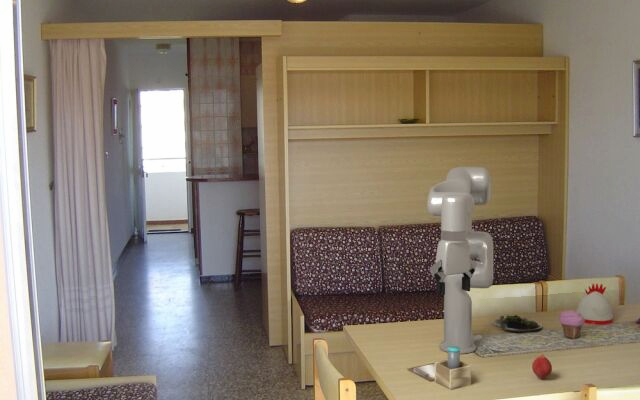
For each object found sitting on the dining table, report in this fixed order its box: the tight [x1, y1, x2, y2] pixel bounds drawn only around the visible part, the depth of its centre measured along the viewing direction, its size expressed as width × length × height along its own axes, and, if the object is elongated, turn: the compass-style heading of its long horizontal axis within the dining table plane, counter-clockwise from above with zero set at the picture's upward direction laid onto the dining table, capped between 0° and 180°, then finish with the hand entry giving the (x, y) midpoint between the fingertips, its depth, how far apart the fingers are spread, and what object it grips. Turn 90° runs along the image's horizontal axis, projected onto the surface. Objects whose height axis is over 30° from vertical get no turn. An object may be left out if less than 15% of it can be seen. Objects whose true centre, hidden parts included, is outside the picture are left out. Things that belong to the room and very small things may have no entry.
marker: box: [447, 346, 461, 369], centre depth 202 cm, size 4×4×10 cm
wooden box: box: [434, 359, 472, 391], centre depth 203 cm, size 8×8×6 cm
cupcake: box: [558, 310, 585, 339], centre depth 247 cm, size 9×9×10 cm
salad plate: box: [493, 314, 544, 334], centre depth 262 cm, size 19×18×5 cm
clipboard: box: [407, 359, 446, 383], centre depth 213 cm, size 16×12×1 cm
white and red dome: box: [576, 283, 614, 326], centre depth 269 cm, size 14×14×15 cm
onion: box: [531, 353, 553, 380], centre depth 205 cm, size 6×6×8 cm
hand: (453, 292), depth 200 cm, fingers open, 9 cm apart
